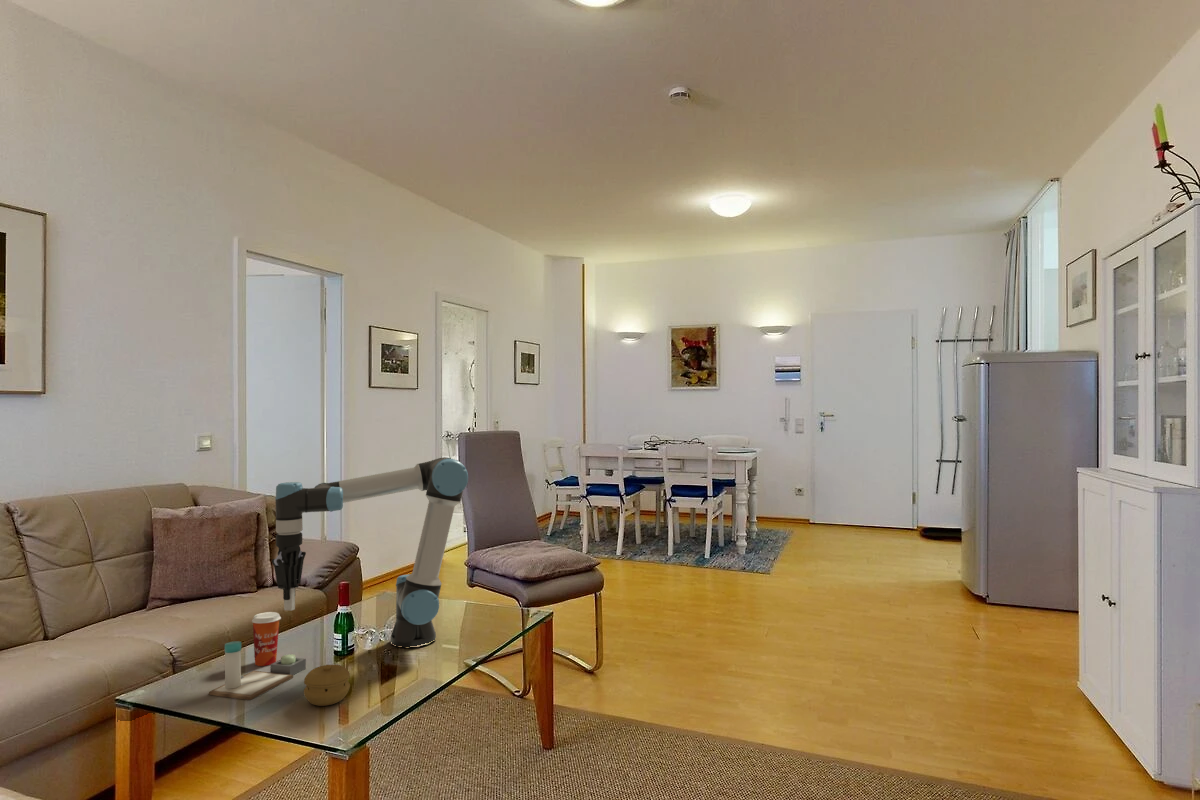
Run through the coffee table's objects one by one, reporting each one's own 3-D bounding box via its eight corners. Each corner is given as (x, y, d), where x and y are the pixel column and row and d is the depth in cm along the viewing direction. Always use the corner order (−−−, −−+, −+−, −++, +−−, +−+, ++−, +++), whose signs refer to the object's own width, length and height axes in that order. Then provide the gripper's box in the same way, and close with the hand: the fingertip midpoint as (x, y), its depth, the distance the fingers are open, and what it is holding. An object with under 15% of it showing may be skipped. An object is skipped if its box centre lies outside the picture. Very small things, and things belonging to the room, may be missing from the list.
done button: (298, 667, 214) (298, 655, 214) (289, 671, 210) (289, 659, 210) (287, 666, 215) (287, 653, 215) (278, 670, 211) (278, 658, 211)
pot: (350, 691, 197) (350, 655, 197) (349, 707, 186) (349, 669, 186) (305, 696, 193) (305, 660, 193) (301, 713, 182) (302, 675, 182)
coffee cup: (251, 669, 214) (252, 620, 215) (250, 660, 221) (251, 613, 222) (281, 664, 218) (281, 616, 218) (279, 656, 225) (280, 610, 226)
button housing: (305, 668, 215) (305, 658, 215) (290, 676, 208) (290, 666, 208) (286, 666, 217) (286, 656, 217) (270, 674, 210) (270, 664, 210)
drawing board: (293, 677, 207) (293, 672, 207) (250, 700, 191) (250, 694, 191) (253, 673, 211) (253, 668, 211) (208, 694, 194) (208, 689, 194)
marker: (244, 684, 199) (244, 641, 200) (233, 689, 195) (233, 646, 196) (232, 683, 200) (232, 640, 201) (221, 688, 196) (221, 645, 197)
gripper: (292, 529, 222) (293, 603, 222) (263, 536, 210) (264, 614, 209) (313, 529, 220) (313, 604, 220) (285, 536, 208) (285, 616, 207)
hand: (289, 609), depth 215 cm, fingers closed
